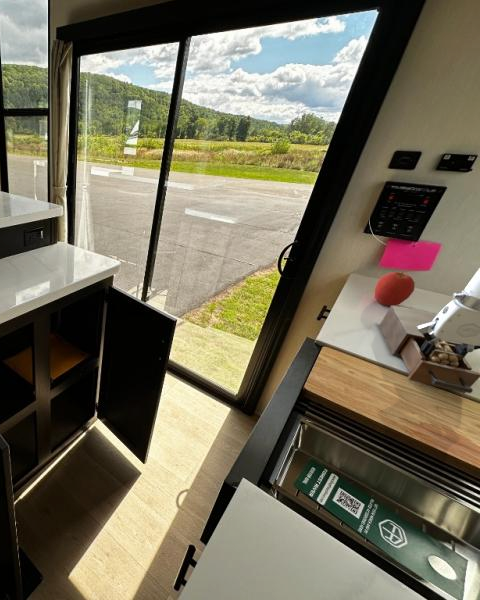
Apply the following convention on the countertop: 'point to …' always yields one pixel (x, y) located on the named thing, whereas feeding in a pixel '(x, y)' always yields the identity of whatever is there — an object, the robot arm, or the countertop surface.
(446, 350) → the bundle
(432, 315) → the cabinet
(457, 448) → the countertop surface
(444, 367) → the drawer
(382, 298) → the apple
